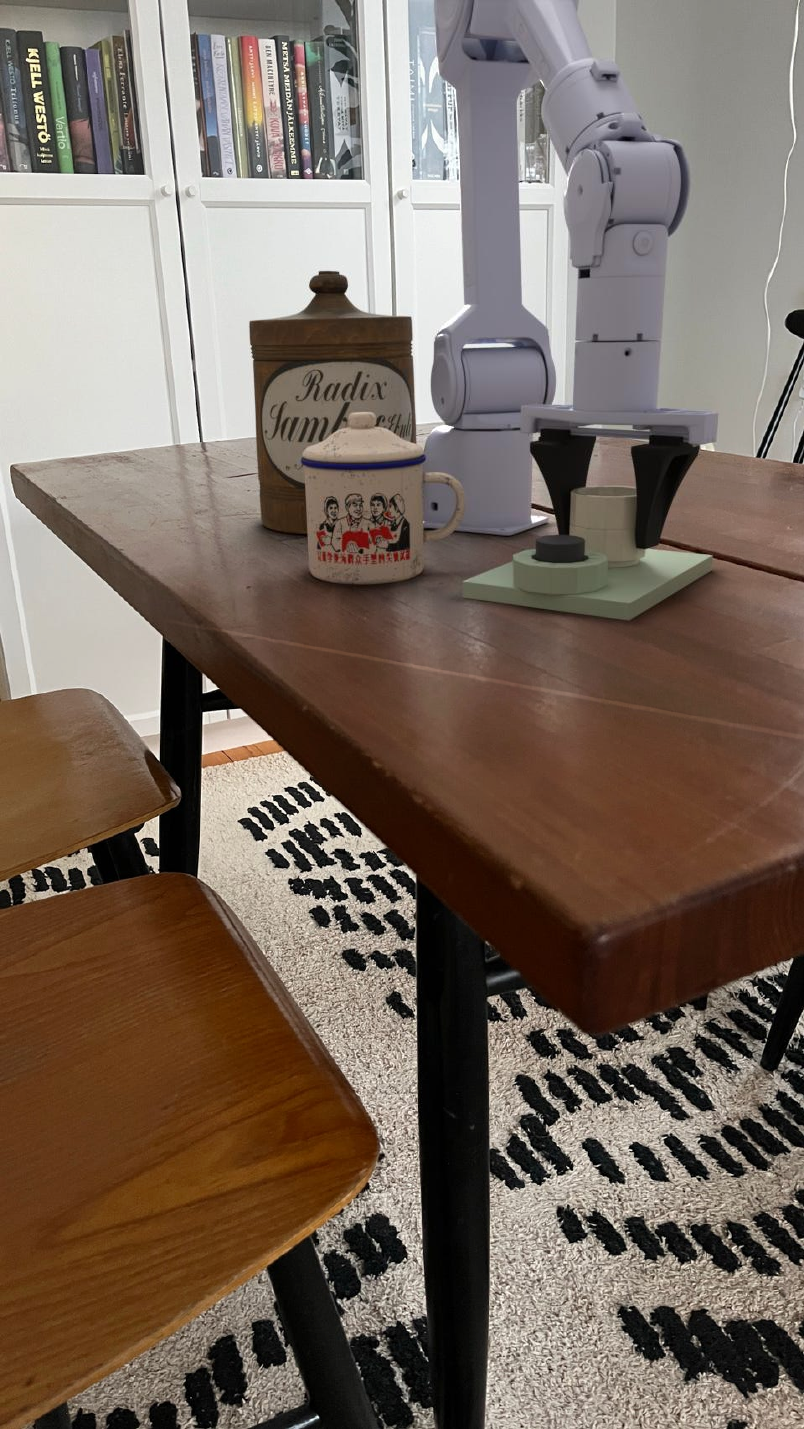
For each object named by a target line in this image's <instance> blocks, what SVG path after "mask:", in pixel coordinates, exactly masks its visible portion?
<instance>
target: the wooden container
mask: <svg viewBox="0 0 804 1429" xmlns="http://www.w3.org/2000/svg"><path fill="white" fill-rule="evenodd" d="M348 281H349V280H348V278H347V276H346V275H344V274H340V271H339V270H338V271H337V270H319V271H318V274H316V275H314V276H312V277H311V278H310V280H309V282H308V288H309V290H310V291H311V292H312V293H314V296H313V297H312V299H311V300H310V302H309V304H308V305H306V307H305V308H304V309H302V310H301V311H299V312H298V313H297V312H296V313H295V314H291V315H286V316H280V317H274V318H267V319H253V320H249V322H248V325H249V326H248V328H249V331H248V332H249V345H250V346H251V347H250V350H251V351H250V353H251V358H252V359H253V360H252V371H253V372H252V373H253V390H254V392H253V393H254V411H255V412H254V413H255V414H254V416H255V417H254V418H255V440H256V441H255V442H256V458H257V460H256V461H257V462H256V463H257V480H258V481H259V482H258V484H259V504H260V505H259V506H260V519H261V524H262V525H263V526H264V527H265V528H267V529H270V530H272V531H275V532H276V531H277V532H279V533H286V534H293V535H307V536H308V530H307V510H306V489H305V469H304V465H303V464H302V463H301V458H302V457H303V456H302V454H303V452H304V450H305V449H306V448H307V447H309V446H312V445H315V444H318V443H320V442H322V441H324V440H325V439H327V438H328V437H329V436H330V435H332V434H333V433H334V432H336V431H338V430H340V429H343V428H348V427H350V425H349V423H348V417H349V415H350V414H351V413H355V412H372V413H374V414H375V416H376V425H375V426H374V427H381V428H385V429H388V430H390V431H391V432H393V433H394V434H396V435H397V436H398V437H400V438H401V439H403V440H405V441H408V442H411V443H414V444H417V445H418V443H417V417H416V398H415V396H416V395H415V371H414V368H415V367H414V356H413V355H412V354H413V351H412V350H413V343H412V342H413V334H414V333H413V318H412V317H413V316H409V315H405V316H404V315H387V314H379V313H378V314H377V313H371V312H367V311H363V310H361V309H360V308H358V307H357V306H356V305H354V304H353V302H351V300H350V299H349V298H348V296H347V295H346V294H345V293H347V290H348V288H349V282H348Z"/></svg>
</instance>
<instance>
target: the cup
mask: <svg viewBox="0 0 804 1429" xmlns="http://www.w3.org/2000/svg"><path fill="white" fill-rule="evenodd" d="M636 508H637V494H636V486H630V485H591V486H590V485H589V486H586V487H581V488H576V489H573V490H572V491H571V508H570V535H572V536H578V537H582V538H584V539H585V549H586V550H592V551H595V552H599V553H602V554H605V556H606V557H607V559H608V568H619V567H628V566H633V565H636V564H638V563H639V562H640V558H643V557H645V554H646V549H638V548H636V543H635V524H636Z"/></svg>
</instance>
